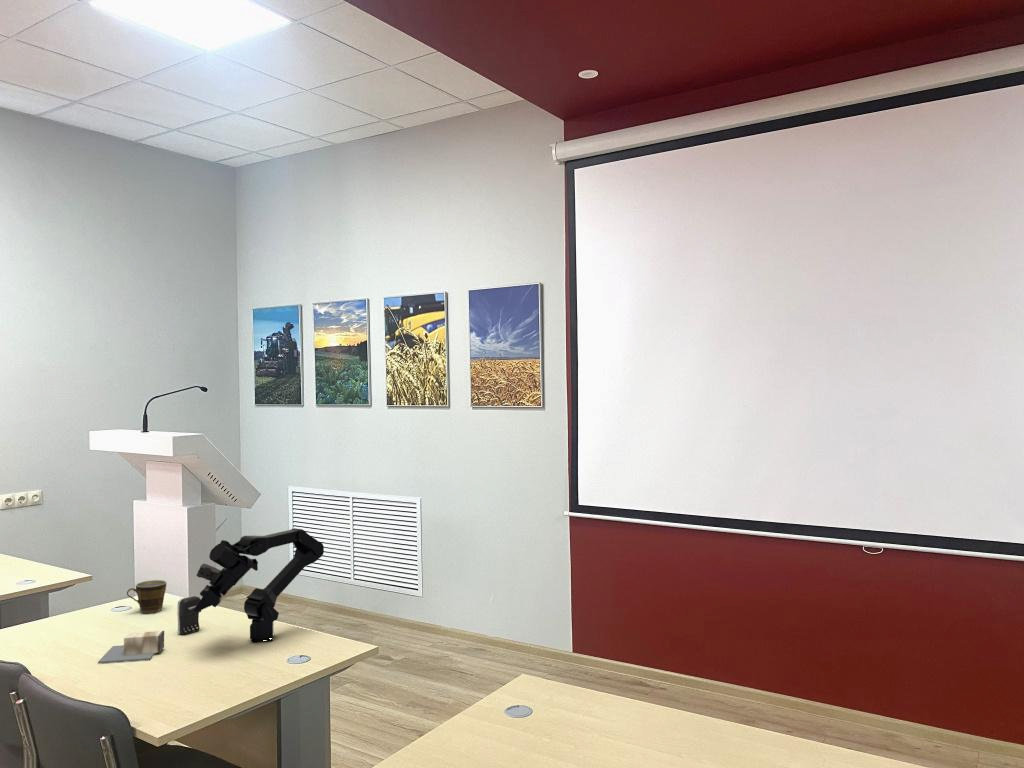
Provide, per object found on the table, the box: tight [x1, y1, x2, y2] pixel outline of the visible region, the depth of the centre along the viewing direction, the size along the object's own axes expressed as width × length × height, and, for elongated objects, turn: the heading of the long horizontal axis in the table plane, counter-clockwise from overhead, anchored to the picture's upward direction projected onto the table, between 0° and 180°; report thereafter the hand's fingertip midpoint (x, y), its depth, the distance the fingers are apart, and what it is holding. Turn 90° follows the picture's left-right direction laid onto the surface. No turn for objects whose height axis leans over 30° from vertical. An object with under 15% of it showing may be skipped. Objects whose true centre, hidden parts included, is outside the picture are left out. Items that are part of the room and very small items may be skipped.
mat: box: [97, 644, 156, 664], centre depth 227 cm, size 14×14×1 cm
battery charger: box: [177, 595, 202, 635], centre depth 248 cm, size 7×4×11 cm, turn 147°
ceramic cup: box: [126, 579, 167, 615], centre depth 271 cm, size 13×10×10 cm
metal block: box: [123, 630, 165, 655], centre depth 228 cm, size 5×5×10 cm
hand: (195, 610), depth 231 cm, fingers closed
